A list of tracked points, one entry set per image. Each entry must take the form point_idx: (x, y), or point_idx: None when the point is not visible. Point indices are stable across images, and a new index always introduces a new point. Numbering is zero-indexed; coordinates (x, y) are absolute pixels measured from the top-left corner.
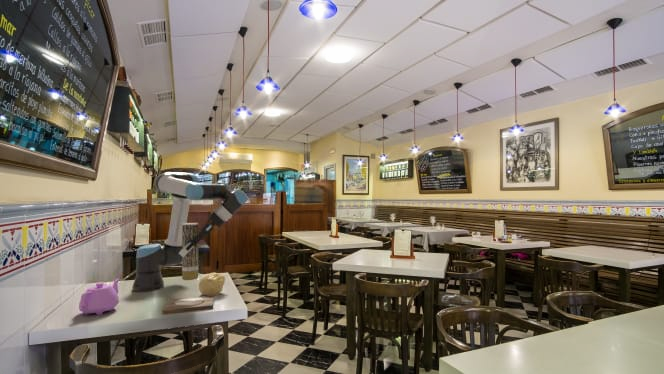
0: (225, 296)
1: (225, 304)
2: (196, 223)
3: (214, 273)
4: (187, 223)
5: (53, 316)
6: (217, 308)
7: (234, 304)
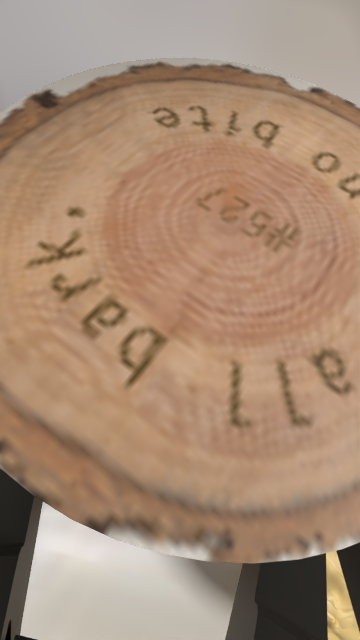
0: (222, 602)
1: (96, 569)
2: (5, 407)
3: (350, 601)
4: (228, 147)
5: None
6: (63, 520)
7: (69, 613)
